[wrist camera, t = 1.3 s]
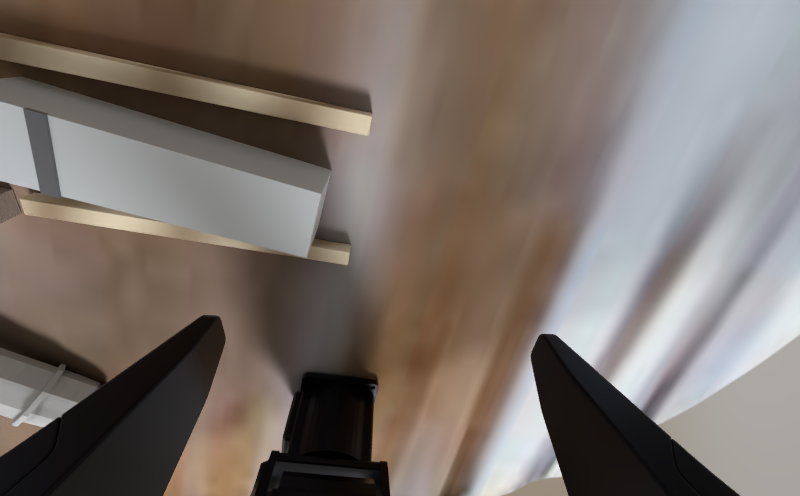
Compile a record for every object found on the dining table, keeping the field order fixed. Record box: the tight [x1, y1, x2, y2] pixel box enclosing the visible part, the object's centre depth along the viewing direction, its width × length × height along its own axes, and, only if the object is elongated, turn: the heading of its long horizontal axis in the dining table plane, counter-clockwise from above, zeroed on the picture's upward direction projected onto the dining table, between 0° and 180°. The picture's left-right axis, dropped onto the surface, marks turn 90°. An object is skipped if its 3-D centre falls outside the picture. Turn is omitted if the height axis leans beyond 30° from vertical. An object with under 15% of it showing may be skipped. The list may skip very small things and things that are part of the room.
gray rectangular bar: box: [0, 76, 332, 258], centre depth 19 cm, size 16×4×4 cm, turn 72°
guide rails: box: [0, 33, 372, 265], centre depth 20 cm, size 19×10×1 cm, turn 78°
